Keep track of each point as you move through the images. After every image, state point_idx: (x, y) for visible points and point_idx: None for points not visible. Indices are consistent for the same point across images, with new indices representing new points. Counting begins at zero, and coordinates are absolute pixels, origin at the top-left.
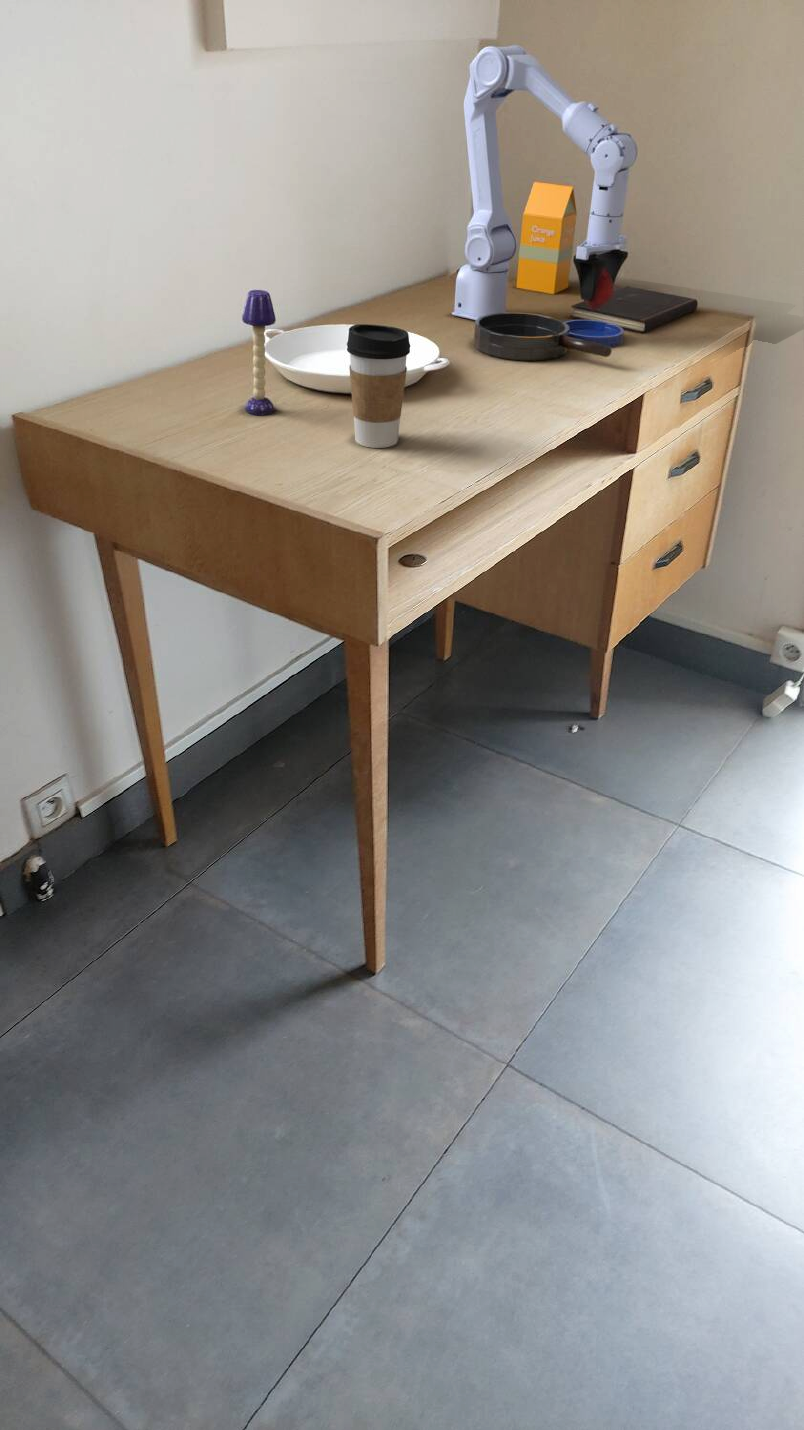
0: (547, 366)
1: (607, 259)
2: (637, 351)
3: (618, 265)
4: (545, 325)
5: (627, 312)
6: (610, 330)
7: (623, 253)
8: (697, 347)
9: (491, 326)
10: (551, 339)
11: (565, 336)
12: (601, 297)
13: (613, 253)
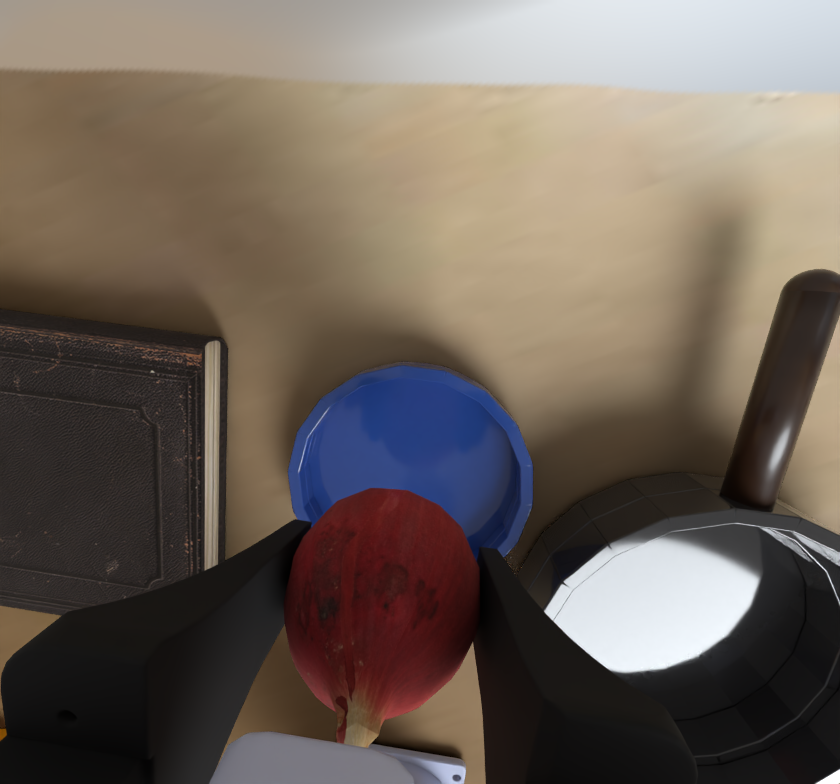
0: (830, 468)
1: (197, 728)
2: (459, 273)
3: (215, 605)
4: None
5: (136, 447)
6: (312, 439)
7: (112, 675)
8: (252, 87)
9: None
10: (825, 527)
11: (770, 495)
12: (451, 520)
13: (155, 754)
